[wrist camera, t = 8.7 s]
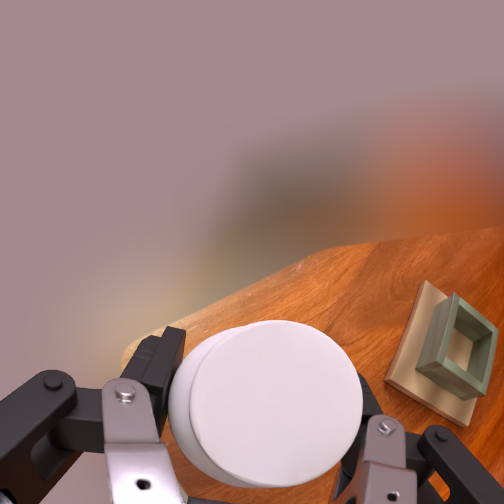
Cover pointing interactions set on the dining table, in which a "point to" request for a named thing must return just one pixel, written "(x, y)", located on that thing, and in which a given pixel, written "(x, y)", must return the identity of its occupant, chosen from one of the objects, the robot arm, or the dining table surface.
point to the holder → (444, 355)
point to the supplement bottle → (265, 405)
